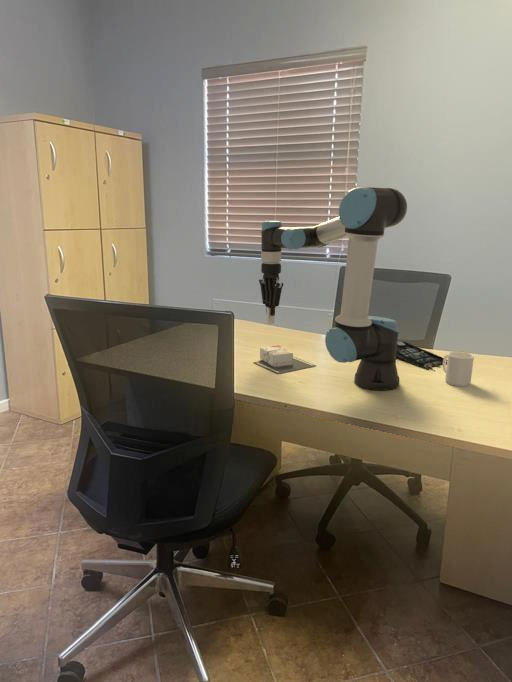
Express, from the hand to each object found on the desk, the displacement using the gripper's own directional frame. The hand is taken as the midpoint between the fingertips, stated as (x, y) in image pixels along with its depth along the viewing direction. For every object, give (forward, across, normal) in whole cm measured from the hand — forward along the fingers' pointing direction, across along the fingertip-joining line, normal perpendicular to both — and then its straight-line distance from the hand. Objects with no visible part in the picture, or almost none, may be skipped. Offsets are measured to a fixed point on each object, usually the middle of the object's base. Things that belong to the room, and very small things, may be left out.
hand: (270, 323), depth 204 cm
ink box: (+12, 0, 0) cm, 12 cm away
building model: (+15, -32, -49) cm, 60 cm away
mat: (+14, -10, 0) cm, 17 cm away
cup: (+15, -56, -39) cm, 70 cm away
